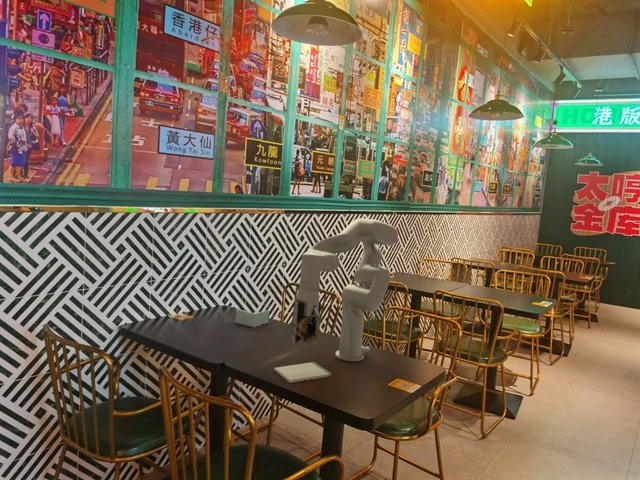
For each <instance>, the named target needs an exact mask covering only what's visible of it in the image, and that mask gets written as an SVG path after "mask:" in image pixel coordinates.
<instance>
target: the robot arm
mask: <svg viewBox="0 0 640 480" xmlns="http://www.w3.org/2000/svg"><path fill="white" fill-rule="evenodd" d="M398 238H399V233H398V230H397V228H396V227H395V226H393V225H390V224H388V223H386V222H383V221H382V220H378V219H373V218H364V217H362V218H361V217H359V218H355V220H353V221H352V222H351V223H350V224H349V225H347V226H346V227H345V228H344V229H343V230H342V231H341V232H340V233H338V234H335V235H332V236H330V237H327V238H324V239H322V240H319V241H318V242H317V243H315V244H314V245H313V246H311V247H310V248H309V250H307V252H304V253H302V256H301V263H300V277H299V286H298V288H297V289H298V290H297V294H296V299H295V300H298V301H301V302H303V303H305V311H304V316H306V317H308V319H309V323H308V331H307V333H308V334H315V331H316V323H317V321H318V319H319V317H320V318H321V313H320V314H319V312H318V310H319V303H320V293H319V292H320V291H319V290H320V284H321V283H320V281H321V272H327V273H332V272H335V271H336V270H338V268H339V266H340V258H339V256H338V255H336V254H343V253H348V252H352V251H353V250H354V249H355V248H356V247H357V246H358V245H359V244H360V243H361V242H362V244H363V253H362V255H361V258H360V259H359V263H358V265H357V267H356V269H355V271H354V274H353V279H354V281H355V283H357V284H358V285H357V284H348V285H346V286H344V287H343V289H342V291H341V296H340V297H341V306H342V308H341V309H342V313H341V323H340V324H341V325H340V338H339V347H338V348H339V349H338V350H336V351H335V354H334V355H335V357H336V358H337V359H339V360H342V361H345V362H346V361H347V362H360V361H363V360H364V359H365V355H364V353H366V352H370V350H371V348H370V346H364V345H363V344H362V343H363V336H364V335H363V334H364V323H365V316H364V312H363V311H365V312H370V313H374V312H376V311H377V310H379V308H380V306H381V305H382V301H383V300H384V297H385V295H386V292H387V290H388V288H389V285H390V281H391V272H390V270H389V269H388V268H387V267H385V266H382V265H380V264H381V263H382V258H383V256H382V251H381V249H380V245H383V246H386V247H389V246H391V247H392V246H393V245H395V244H396V243H397V242H398ZM359 284H360V285H359ZM361 285H362V286H361ZM369 287H370V288H369ZM312 311H313V312H314V315H311V314H312ZM311 317H314V318H313V319H311Z"/></svg>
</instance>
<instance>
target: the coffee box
mask: <svg viewBox="0 0 640 480" xmlns="http://www.w3.org/2000/svg"><path fill="white" fill-rule="evenodd" d="M293 308H294V310H293V318H292V319H293V321H292V328H291V329H292V330H291V332H292V333H291V342H292V343H293V344H294V345H295V346H318V343H319V333H320V332H319V331H320V322H321V321H320V320H321V316H320V317H319V319H318V321H317V323H316V331H315V334H308V333H307V331H308V323H309V319H308V317H306V316H304V311H305V303H303V302H301V301H298V300H296V299H294V307H293ZM321 310H322V303H321V302H319V310H318V312H319V314H320V315H321ZM311 315H314V312H313V311H312V314H311ZM313 318H314V317H311V319H313Z"/></svg>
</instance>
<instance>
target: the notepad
mask: <svg viewBox="0 0 640 480" xmlns="http://www.w3.org/2000/svg"><path fill="white" fill-rule="evenodd" d="M273 372H275V373H277V374H278V375H279V374H280V375H279V376H281V377H282V378H283V379H284V380H285V381H287V382H288V383H290V384H292V383H297V382H303V381H304V380H305V381H310V379H311V380H316V379H323V378H327V377H332V373H331V372H330V371H329V370H327V369H326V368H324V367H322V366H320V365H319V364H318V363H316V362H315V361H311V362H306V363H299V364H292V365H286V366H285V365H283V366H279V367H273Z"/></svg>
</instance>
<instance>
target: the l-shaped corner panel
mask: <svg viewBox="0 0 640 480" xmlns="http://www.w3.org/2000/svg"><path fill="white" fill-rule="evenodd" d="M269 316H270V310H269V309H267V310H263V311H259V312H255V313H254V312H250V311H246V310H242V309H236V310H235V324H238V325H242V324H243V325H242V326H246V325H247V326H246V327H249V326H251V327H250V328H253V327H254V328H257V327H260V326H262V325H261V324H264V325H266V324H265V323H267V324H269V318H270V317H269ZM259 325H260V326H259ZM256 326H257V327H256Z"/></svg>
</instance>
